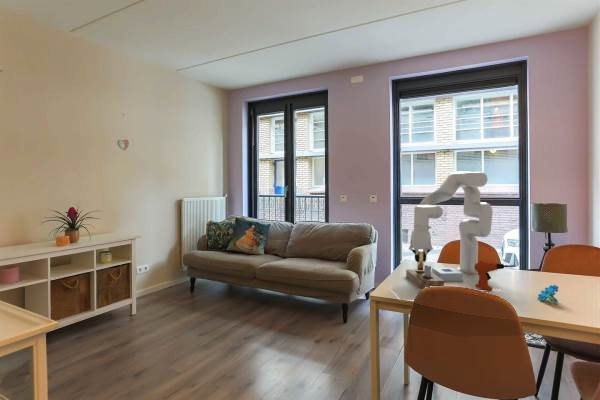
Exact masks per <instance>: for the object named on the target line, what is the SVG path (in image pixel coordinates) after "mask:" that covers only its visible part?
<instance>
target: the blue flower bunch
mask: <svg viewBox="0 0 600 400" xmlns="http://www.w3.org/2000/svg"><path fill="white" fill-rule="evenodd" d="M558 292H559V286H558V285H556V284H553V285H551V284H549V287H548V286H545V288H544V290H540V293H538V294H537V299H538V300H539V301H541V302H542V301H546V300H549V301H550V302H553V303H554V304H555V305H558V299H557V298H556V297H555V295H556V293H558Z"/></svg>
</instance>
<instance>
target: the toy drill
mask: <svg viewBox="0 0 600 400" xmlns="http://www.w3.org/2000/svg"><path fill="white" fill-rule="evenodd" d="M474 268H475V270H476V271H477V272H478V283H476V284H475V288H476V289H477V290H479V291H483V292H484V291H485V290H486V291H487V292H492V291H493V287H492V286H490V285H489V280H491V279H492V277H491V276H490V273H489V272H494V271H497V270H501V269H502V270H504V269H505V268H516V265H515V264H509V265H508V264H507V265H506V264H505V265H504V264H503V263H497V262H492V261H489V262H488V261H483V260H479V261H478V263H476V264H475V266H474ZM486 291H485V292H486Z"/></svg>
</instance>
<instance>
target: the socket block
mask: <svg viewBox="0 0 600 400" xmlns="http://www.w3.org/2000/svg"><path fill="white" fill-rule="evenodd" d="M431 272H432V273H433V274H435V275H436V276H438V277H439V278H441V279H442V280H444V282H445V281H447V282H449V281H450V282H451V281H452V282H453V281H454V282H455V281H456V282H457V281H458V282H459V281H463V280H464V279H463V276H464V274H463V273H464V272H463V271H459V270H458V269H457V268H454V267H453V266H451V267H431Z"/></svg>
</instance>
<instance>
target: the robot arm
mask: <svg viewBox="0 0 600 400" xmlns="http://www.w3.org/2000/svg"><path fill="white" fill-rule="evenodd" d="M487 182H488V176H487V174H486V173H485V172H484V171H483V172H482V171H473V172H472V171H455V172H454V171H453V172H452V173H450V174H448V176H447V177H446V178H445V180H444V181H443V183H442V184H441V185H440V186H439V188H438V189H436V190H435V191H433V192H431V193H429V194H428V195H426V196H425V197H424V198H423V199H422V200H421V201H420V203H419V204H418V205H415V207H414V208H413V230H412V231H411V235H410V245H409V246H408V250H409V251H411V252H412V253H413V254H414V260H415V262H416V263H417V262H419V255H418V251H419V250H422V251H423V252H424V263H426V261H427V255H428V253H430V252H432V250H434V248H433V246H432V240H431V239H432V237H431V232H430V229H432V226H431V225H430V224H429V219H432V220H437V219H440V218H441V217H443V214H444V210H443V208H442V207H441V206H439V205H436V204H439V203H442V202H446V201H448V200H450V199H452V197H454V195H455V193H456V192H457V191H458V190H459V188H462V190H463V192H464V199H463V201H464V202H463V211H462V212H463V215H464V216H465V217H468V218H474V219H468V218H466V219H462V220H461V221H460V222H459V225H458V230H459V238H460V242H459V243H460V247H459V249H460V250H459V251H460V252H459V266H458V267H457V268H456V270H458V271H460V272H462V273H471V274H473V273H474V274H476V275H477V274H478V272H477V271H476V270H475V268H474V266H475V264H476V263H478V262H479V261H478V259H479V258H478V257H479V254H478V253H479V241H478V239H477V237H478V238H487V237H488V236H490V235H491V231H492V224H493V222H492V221H493V207H492V205H491V204H490V203H488V202H485V201H484V202H483V201H481V191H480V189H479V188H482V187H484V186H486V184H487ZM477 219H478V220H477ZM478 275H479V274H478Z"/></svg>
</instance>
